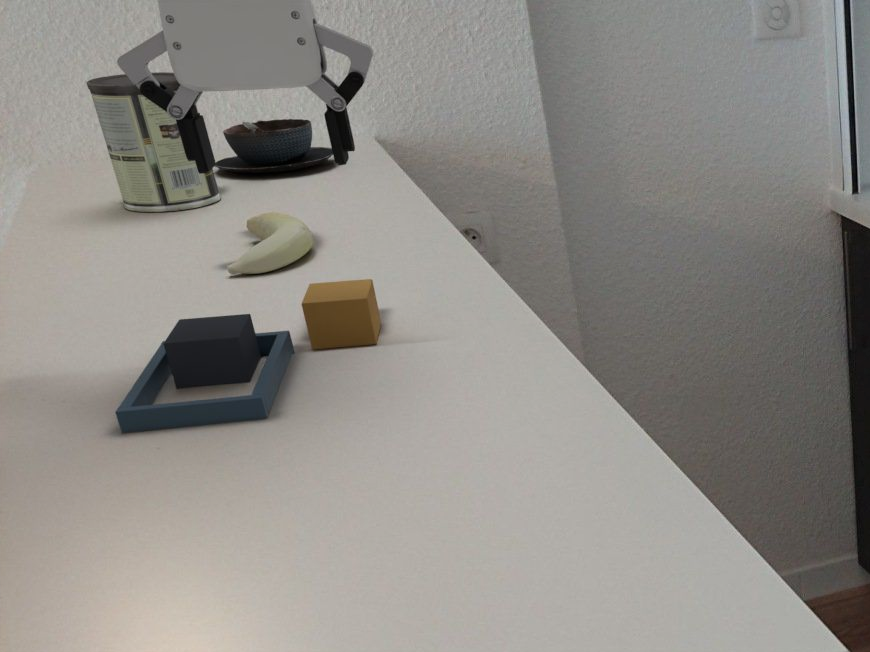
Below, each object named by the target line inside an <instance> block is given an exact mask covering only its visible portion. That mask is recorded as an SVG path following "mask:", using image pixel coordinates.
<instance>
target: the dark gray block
mask: <svg viewBox="0 0 870 652" xmlns="http://www.w3.org/2000/svg"><path fill="white" fill-rule="evenodd" d="M255 333H256V330H255V327H254V324H253V319H252V315H251V314H250V313H244V314H243V313H242V314H241V313H240V314H231V315H230V314H229V315H218V316H205V317H193V318H180V319H178V320H177V322H176V324H175V325H174V327H173V329H172V330H171V331H170V333H169V334H168V335H167V337H166V339H165V340H164V341H165V342H164V343H163V344H164V348H165V351H166V355H167V358H168V362H169V365H170V368H171V375H172V378H173V382H174V385H175V389H176V390H181V389H191V388H192V389H193V388H202V387H203V388H205V387H211V386H212V387H213V386H223V385H225V386H226V385H235V384H245V383H251V381H252V379H253V377H254V375H255V372H256V370H257V368H258V366H259V363H260V361H261V358H262V357H261V354H260V350H259V346H258V342H257V338H256V334H255Z"/></svg>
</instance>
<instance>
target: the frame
mask: <svg viewBox="0 0 870 652" xmlns="http://www.w3.org/2000/svg"><path fill="white" fill-rule="evenodd" d="M255 334H256V338H257V342H258V346H259V350H260V354H261V358H263V357H267V358H266V359H265V362H264V365H263V367H262V369H261V371H260V374H259V375H258V378H257V381H256V382H255V385H254V387H253V390H252V393H251V394H248V395H240V396H238V395H237V396H229V397H219V398H207V399H198V400H187V401H176V402H166V403H156V404H153V403H154V402H155V400H156V398H157V397H158V395H159V393H160V392H161V390H162V388H163V387H164V385H165V383H166V382H167V380H168V378H169V377H170V375H171V374H172V372H171V368H170V365H169V362H168V358H167V355H166V351H165V348H164V344H163V343H164V342H165V340H163V341H162V342H161V343H160V345H159V346H158V348H157V350H156V351H155V352H154V354H153V355H152V357H151V358H150V360H149V362H148V363H147V364H146V366H145V368H143V371H142V372H141V373H140V375H139V376H138V378H137V379H136V381H135V382H134V383H133V385H132V387H131V388H130V389H129V392H128V393H127V395H126V396H125V397H124V399H123V400H122V402H121V403H120V405H119V406H118V407H117V409H116V410H115V412H114V413H115V415H116V419H117V422H118V426H119V428H120V431H121V433H122V434H127V433H136V432H137V433H138V432H145V431H156V430H166V429H176V428H187V427H196V426H206V425H215V424H226V423H236V422H244V421H253V420H254V421H257V420H263V419H268V417H269V414H270V412H271V409H272V406H273V404H274V401H275V399H276V396H277V393H278V392H279V389H280V386H281V383H282V381H283V378H284V375H285V374H286V370H287V367H288V365H289V363H290V360H291V358H292V356H293V355H295V348H294V345H293V340H292V336H291V332H290V330H280V331H267V332H257V333H256V332H255Z"/></svg>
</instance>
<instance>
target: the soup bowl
mask: <svg viewBox="0 0 870 652" xmlns="http://www.w3.org/2000/svg"><path fill="white" fill-rule="evenodd" d="M222 133H223V136H224V138H225V140H226V142H227V144H228V145H229V147H230V148H231V150H232V151H233V152H234V154H235V155H236V156H235V155H234V156H232V157H231V156H229V157H224V158H222V159H220V160H217V161H215V163H216V165H215V166H214V168H216V169H219V170H220V169H221V170H225V171H230V172H235V173H241V174H242V173H243V174H270V173H280V172H288V171H294V170H300V169H303V168H309V167H313V166H317V165H318V164H321V163H322V162H325V161H327V160H328V159H330V158H331V157H332V156H333V152H332V147H325V146H324V147H323V146H312V143H313V126H312V121H311V120H309V119H302V118H300V119H299V118H298V119H297V118H295V119H294V118H289V119H287V118H285V119H284V118H283V119H269V120H262V119H258V120H257V121H255V122H252V121H251V122H250V121H245V120H244V121H242V122H241V124H236V125H233V126H231V127H229V128H226V129H224V130H223V131H222Z"/></svg>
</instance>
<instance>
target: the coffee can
mask: <svg viewBox="0 0 870 652" xmlns="http://www.w3.org/2000/svg"><path fill="white" fill-rule="evenodd" d="M151 73H152V75H153V76H154V77H155V79H156V80H158V81H160V82H161V83H162V84H164V85H165V86H167V87H168V88H169V89H171V90H172V91H174V92H175V93H176V92H177V90H178V88H179V87H180V85H181V84H180V83H179V82H178V81H177V79H176V77H175V75H174V72H165V71H164V72H163V71H162V72H161V71H160V72H151ZM86 86H87V89H88V90H89V92H90V95H91V99H92V102H93V105H94V109H95V112H96V115H97V119H98V122H99V126H100V129H101V131H102V135H103V138H104V142H105V145H106V149H107V152H108V156H109V159H110V162H111V165H112V170H113V172H114V175H115V179H116V182H117V186H118V188H119V192H120V195H121V198H122V202H123V208H124V209H126V210H128V211H132V212H138V213H139V212H141V213H163V212H176V211H177V212H178V211H184V210H191V209H196V208H197V209H198V208H201V207H205V206H208V205H209V206H210V205H212V204H215V203H217V202H218V201H220V200H221V199H222V196H221V194H220V191H219V187H218V183H217V180H216V175H215V172H214V169H213V168H214V167H213V168H212V169H211V170H210V171H209V172H208V173H202V174H199V172H198V170H197V166H196V162H195V161H188V159H187V157H186V154H185V151H184V147H183V144H182V140H181V137H180V133H179V129H178V126H177V122H176V119H173V118H171V117H170V116H169V115H168V113H167V112H166V111H164V110H163V109H162V108H160V107H159V106H157V105H156V104H154V103H153V102H151V101H150V100H149V99H147V98H146V97H144V96H143V95H142V94H141V92H140V90H139V88H138V87H137V86H136V85H134V83H133V82H132V81H131V80H130V79H129V78H128V76H127V75H126V74H125V73H124V74H123V73H122V74H113V75H108V76H101V77H100V76H99V77H96V78H95V77H94V78H92V79H89V80H87V81H86ZM195 107H196V111H197V113H199V110H198V107H197V103H196V104H195Z"/></svg>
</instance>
